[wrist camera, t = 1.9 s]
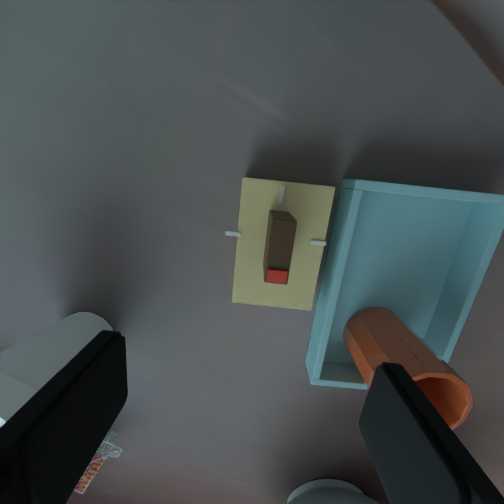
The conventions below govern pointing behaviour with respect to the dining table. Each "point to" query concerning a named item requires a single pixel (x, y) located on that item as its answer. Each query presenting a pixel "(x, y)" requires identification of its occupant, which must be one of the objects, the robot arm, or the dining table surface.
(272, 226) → the brown switch lever
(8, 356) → the foam cup
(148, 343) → the dining table surface
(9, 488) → the robot arm
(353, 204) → the blue tray
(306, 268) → the switch panel
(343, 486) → the decorative bowl
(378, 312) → the cup
